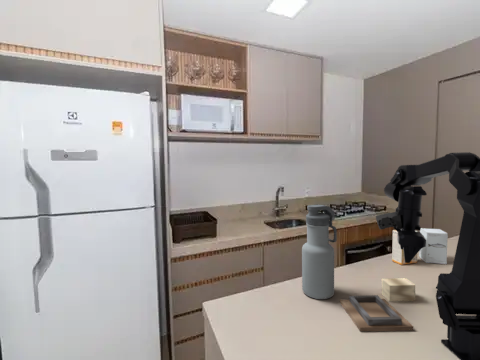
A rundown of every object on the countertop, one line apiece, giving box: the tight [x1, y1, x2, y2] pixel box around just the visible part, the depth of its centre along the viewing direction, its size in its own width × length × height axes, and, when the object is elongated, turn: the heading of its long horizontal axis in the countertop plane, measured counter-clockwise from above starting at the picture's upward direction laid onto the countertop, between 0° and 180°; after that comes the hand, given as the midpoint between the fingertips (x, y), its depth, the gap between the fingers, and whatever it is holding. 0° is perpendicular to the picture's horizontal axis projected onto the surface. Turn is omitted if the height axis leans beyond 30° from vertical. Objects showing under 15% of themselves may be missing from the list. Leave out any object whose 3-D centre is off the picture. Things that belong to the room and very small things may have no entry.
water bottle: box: [301, 204, 338, 300], centre depth 82 cm, size 10×10×28 cm
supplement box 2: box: [418, 227, 449, 265], centre depth 106 cm, size 7×7×13 cm
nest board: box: [339, 294, 414, 332], centre depth 70 cm, size 13×13×2 cm
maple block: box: [381, 277, 416, 303], centre depth 79 cm, size 8×4×5 cm, turn 89°
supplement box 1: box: [391, 229, 419, 266], centre depth 105 cm, size 8×5×13 cm, turn 105°
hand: (404, 255), depth 80 cm, fingers open, 9 cm apart
